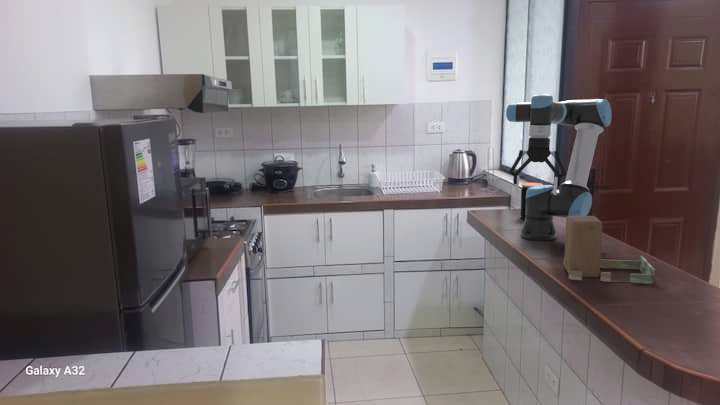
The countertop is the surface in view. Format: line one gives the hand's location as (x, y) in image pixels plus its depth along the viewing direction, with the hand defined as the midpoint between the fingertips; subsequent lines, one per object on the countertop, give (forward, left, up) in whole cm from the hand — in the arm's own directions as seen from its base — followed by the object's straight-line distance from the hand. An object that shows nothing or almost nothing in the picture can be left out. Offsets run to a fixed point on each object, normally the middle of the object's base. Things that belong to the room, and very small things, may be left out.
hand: (535, 193), depth 184 cm
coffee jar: (-69, +3, -26) cm, 74 cm away
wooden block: (+13, +15, -26) cm, 33 cm away
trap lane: (+13, +23, -26) cm, 37 cm away
